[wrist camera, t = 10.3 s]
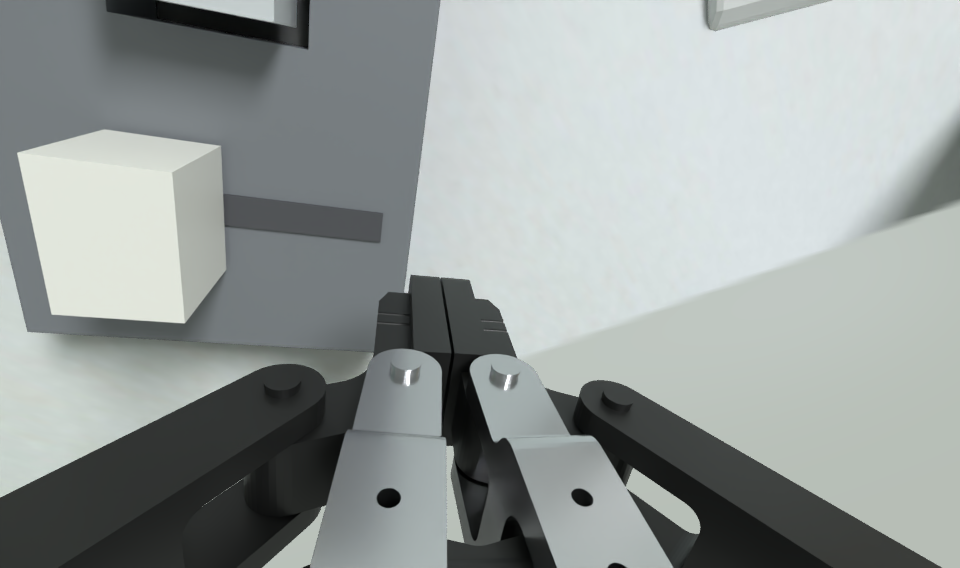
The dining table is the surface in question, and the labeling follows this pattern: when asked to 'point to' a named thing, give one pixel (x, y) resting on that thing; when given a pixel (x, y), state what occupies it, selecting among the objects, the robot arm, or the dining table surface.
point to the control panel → (238, 153)
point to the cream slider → (126, 224)
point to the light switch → (750, 10)
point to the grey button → (249, 9)
